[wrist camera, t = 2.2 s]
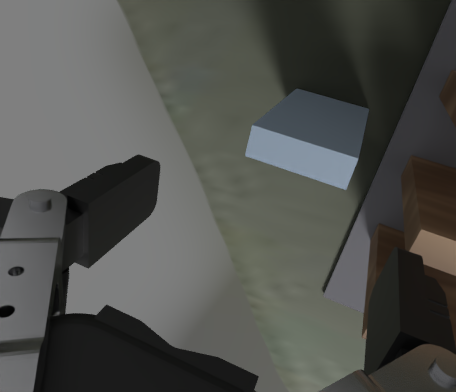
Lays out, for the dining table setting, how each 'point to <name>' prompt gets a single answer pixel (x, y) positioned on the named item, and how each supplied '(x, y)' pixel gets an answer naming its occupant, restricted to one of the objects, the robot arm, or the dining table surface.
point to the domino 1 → (311, 137)
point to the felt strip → (401, 165)
